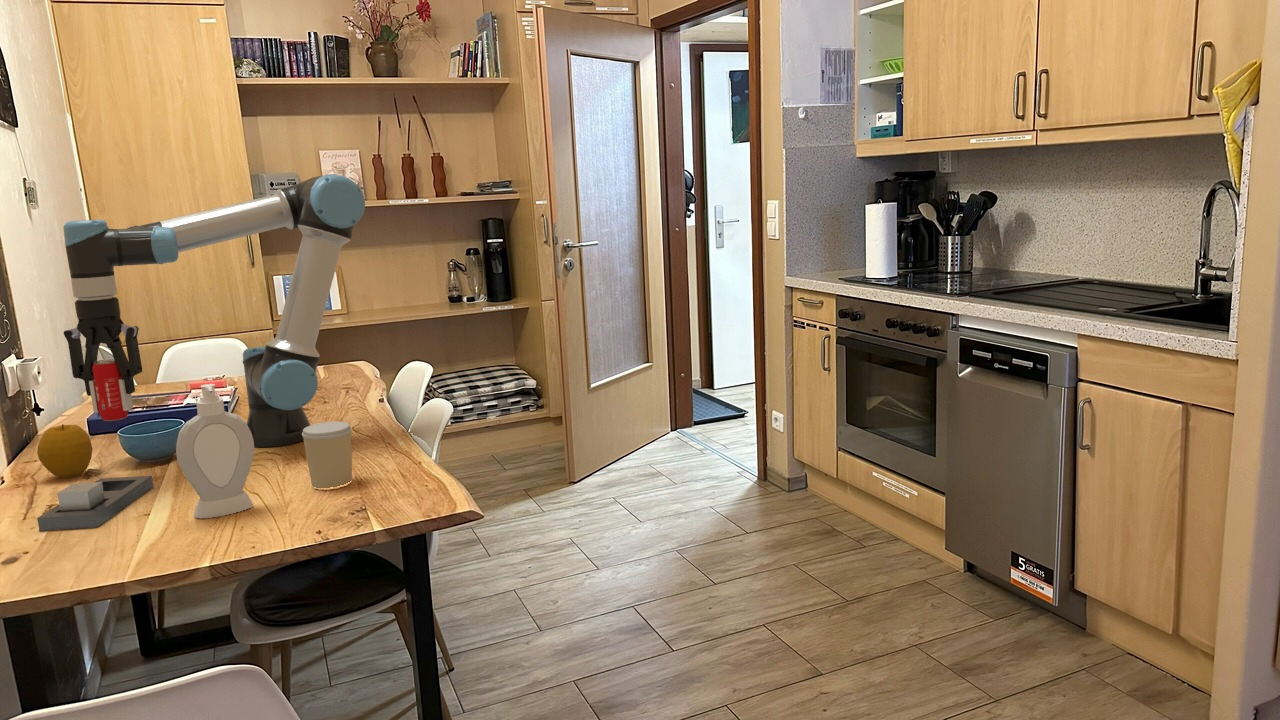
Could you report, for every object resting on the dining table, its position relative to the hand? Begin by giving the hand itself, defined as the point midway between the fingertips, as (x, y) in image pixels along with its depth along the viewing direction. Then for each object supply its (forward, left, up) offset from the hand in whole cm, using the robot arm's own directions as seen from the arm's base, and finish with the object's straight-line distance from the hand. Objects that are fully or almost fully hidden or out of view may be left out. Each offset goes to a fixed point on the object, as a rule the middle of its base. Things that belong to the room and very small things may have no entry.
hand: (113, 409), depth 179 cm
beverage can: (0, 0, -2) cm, 2 cm away
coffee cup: (-45, +10, -16) cm, 49 cm away
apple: (+14, -6, -16) cm, 22 cm away
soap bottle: (-29, +24, -16) cm, 41 cm away
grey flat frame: (-3, +16, -16) cm, 23 cm away
